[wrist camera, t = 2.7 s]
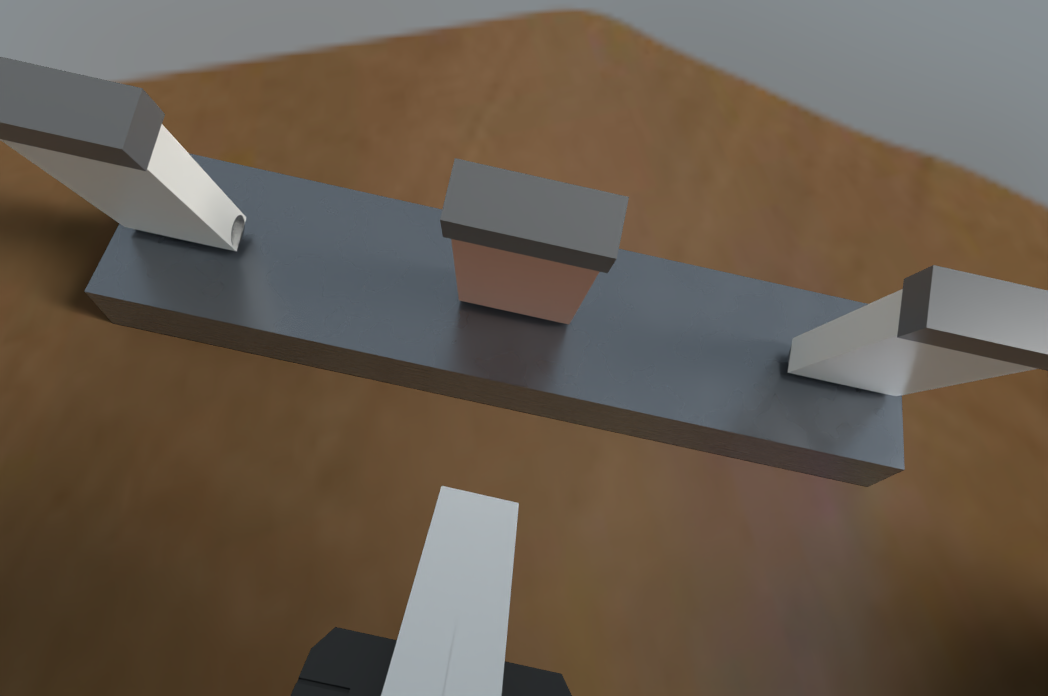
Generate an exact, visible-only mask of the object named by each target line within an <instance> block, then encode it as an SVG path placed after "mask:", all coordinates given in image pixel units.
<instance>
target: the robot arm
mask: <svg viewBox="0 0 1048 696" xmlns="http://www.w3.org/2000/svg"><path fill="white" fill-rule="evenodd" d="M518 506H519V503H516V502H512V501H507V500H503V499H498V498H494V497H489V496H485V495H481V494H476V493H472V492H467V491H463V490H458V489H454V488H449V487H445V486H441V490H440V493H439V497H438V500H437V504H436V507H435V511H434V514H433V517H432V521H431V524H430V528H429V531H428V535H427V538H426V542H425V545H424V549H423V552H422V556H421V559H420V562H419V566H418V569H417V573H416V576H415V580H414V583H413V587H412V590H411V594H410V597H409V601H408V604H407V607H406V611H405V614H404V618H403V621H402V625H401V628H400V632H399V635H398V639H397V640H393V639H388V638H383V637H379V636H374V635H370V634H365V633H360V632H356V631H351V630H346V629H342V628H337V627H335V628H334V629H333V630H332V631H331V632H329V633H328V634H327V635H326V636H325V637H324V638H323V639H322V640H320V641H319V642H318V643H317V644H316V645H315V646H314V647H313V648H311V651H310V653H309V655H308V657H307V660H306V662H305V664H304V666H303V669H302V671H301V673H300V676H299V679H298V682H297V683H296V685H295V687H294V689H293V692H292V694H291V696H572V695H571V693H570V691H569V689H568V687H567V685H566V682H565V680H564V678H563V676H562V674H560V673H555V672H551V671H546V670H541V669H537V668H532V667H528V666H523V665H518V664H514V663H509V662H505V651H506V640H507V629H508V618H509V606H510V595H511V584H512V573H513V562H514V551H515V540H516V529H517V518H518Z"/></svg>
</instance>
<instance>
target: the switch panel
mask: <svg viewBox="0 0 1048 696" xmlns="http://www.w3.org/2000/svg"><path fill="white" fill-rule="evenodd" d="M189 155H190V156H191V157H192V158H193V159H194V160H195V161H196V162H197V163H198V165H199V166H200V167H201V168H202V169H203V170H204V171H205V172H206V173H207V174H208V176H209V177H210V178H211V179H212V180H213V181H214V182H215V183H216V184H217V186H218V187H219V188H220V189H221V190H222V191H223V192H224V193H225V194H226V196H227V197H228V198H229V199H230V200H231V201H232V202H233V203H234V204H235V205H236V207H237V208H238V209H239V210H240V211H241V212H242V213H243V214H244V215H245V217H246V221H245V228H244V234H243V238H242V240H241V242H240V244H239V245H238V249H237V252H236V251H232V250H227V249H223V248H218V247H214V246H209V245H204V244H200V243H195V242H191V241H186V240H182V239H177V238H173V237H168V236H163V235H159V234H154V233H150V232H145V231H141V230H136V229H132V228H127V227H124V226H122V225H121V224H119V226H118V227H117V229H116V231H115V233H114V235H113V237H112V239H111V241H110V243H109V245H108V247H107V249H106V251H105V253H104V255H103V256H102V258H101V260H100V262H99V264H98V266H97V268H96V270H95V272H94V274H93V276H92V278H91V280H90V282H89V284H88V285H87V287H86V289H85V291H84V292H85V293H86V294H87V295H88V296H89V297H90V298H91V300H92V301H93V302H94V303H95V304H96V305H97V306H98V307H99V309H100V310H101V311H102V312H103V313H104V314H105V315H106V316H107V318H108V319H109V320H110V321H111V322H112V323H114V324H119V325H124V326H128V327H133V328H137V329H142V330H147V331H151V332H156V333H161V334H165V335H170V336H174V337H179V338H184V339H188V340H193V341H197V342H202V343H207V344H211V345H216V346H221V347H225V348H230V349H234V350H239V351H244V352H248V353H253V354H257V355H262V356H267V357H271V358H276V359H280V360H285V361H290V362H294V363H299V364H304V365H308V366H313V367H317V368H322V369H327V370H331V371H336V372H340V373H345V374H350V375H354V376H359V377H364V378H368V379H373V380H377V381H382V382H387V383H391V384H396V385H400V386H405V387H410V388H414V389H419V390H423V391H428V392H433V393H437V394H442V395H447V396H451V397H456V398H460V399H465V400H470V401H474V402H479V403H483V404H488V405H493V406H497V407H502V408H507V409H511V410H516V411H520V412H525V413H530V414H534V415H539V416H543V417H548V418H553V419H557V420H562V421H567V422H571V423H576V424H580V425H585V426H590V427H594V428H599V429H603V430H608V431H613V432H617V433H622V434H626V435H631V436H636V437H640V438H645V439H650V440H654V441H659V442H663V443H668V444H673V445H677V446H682V447H686V448H691V449H696V450H700V451H705V452H710V453H714V454H719V455H723V456H728V457H733V458H737V459H742V460H746V461H751V462H756V463H760V464H765V465H770V466H774V467H779V468H783V469H788V470H793V471H797V472H802V473H806V474H811V475H816V476H820V477H825V478H829V479H834V480H839V481H843V482H848V483H853V484H857V485H862V486H866V487H868V486H871V485H873V484H875V483H877V482H879V481H881V480H884V479H886V478H888V477H890V476H892V475H894V474H897V473H899V472H901V471H903V470H904V445H903V419H902V395H900V396H892V395H888V394H883V393H878V392H874V391H869V390H865V389H860V388H856V387H851V386H847V385H842V384H837V383H833V382H828V381H824V380H819V379H815V378H810V377H805V376H801V375H796V374H792V373H788V355H789V350H790V347H791V345H792V339H793V338H794V337H796V336H799V335H801V334H803V333H805V332H808V331H810V330H812V329H814V328H817V327H819V326H821V325H823V324H825V323H828V322H830V321H832V320H834V319H837V318H839V317H841V316H843V315H846V314H848V313H850V312H852V311H855V310H857V309H859V308H861V307H863V306H866V305H868V304H866V303H861V302H857V301H852V300H848V299H843V298H838V297H834V296H829V295H825V294H820V293H816V292H811V291H807V290H802V289H798V288H793V287H789V286H784V285H780V284H775V283H771V282H766V281H762V280H757V279H753V278H748V277H744V276H739V275H735V274H730V273H726V272H721V271H717V270H712V269H708V268H703V267H699V266H694V265H690V264H685V263H681V262H676V261H672V260H667V259H663V258H658V257H654V256H649V255H645V254H640V253H635V252H631V251H626V250H622V249H619V250H618V255H617V259H616V261H615V262H614V264H613V266H612V267H611V269H610V270H609V272H608V273H604V272H599V274H598V275H597V277H596V279H595V281H594V282H593V284H592V286H591V287H590V289H589V291H588V293H587V294H586V296H585V298H584V300H583V301H582V303H581V305H580V307H579V308H578V310H577V312H576V314H575V315H574V317H573V319H572V320H571V322H570V324H564V323H560V322H555V321H551V320H546V319H541V318H537V317H532V316H528V315H523V314H519V313H514V312H510V311H505V310H500V309H496V308H491V307H487V306H482V305H478V304H473V303H468V302H464V301H459V297H458V289H457V281H456V274H455V266H454V258H453V250H452V242H451V239H450V238H445V237H443V235H442V229H441V223H440V218H441V214H442V209H437V208H433V207H428V206H423V205H419V204H414V203H410V202H405V201H401V200H396V199H392V198H387V197H383V196H378V195H374V194H369V193H365V192H360V191H356V190H351V189H347V188H342V187H338V186H333V185H329V184H324V183H320V182H315V181H311V180H306V179H302V178H297V177H293V176H288V175H284V174H279V173H275V172H270V171H266V170H261V169H257V168H252V167H248V166H243V165H239V164H234V163H230V162H225V161H220V160H216V159H211V158H207V157H202V156H198V155H193V154H189Z"/></svg>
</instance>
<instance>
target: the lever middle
mask: <svg viewBox="0 0 1048 696" xmlns="http://www.w3.org/2000/svg"><path fill="white" fill-rule="evenodd" d="M628 198H629V197H626V196H622V195H617V194H613V193H608V192H604V191H599V190H595V189H590V188H586V187H581V186H577V185H572V184H568V183H563V182H559V181H554V180H550V179H545V178H541V177H536V176H532V175H528V174H523V173H519V172H514V171H510V170H505V169H501V168H496V167H492V166H487V165H483V164H478V163H474V162H469V161H465V160H460V159H456V158H455V161H454V165H453V169H452V173H451V177H450V181H449V185H448V189H447V193H446V197H445V201H444V206H443V210H442V214H441V218H440V223H441V229H442V235H443V237H445V238H450V239H451V242H452V250H453V258H454V266H455V274H456V281H457V289H458V297H459V301H464V302H468V303H473V304H478V305H482V306H487V307H491V308H496V309H500V310H505V311H510V312H514V313H519V314H523V315H528V316H532V317H537V318H541V319H546V320H551V321H555V322H560V323H564V324H570V322H571V320H572V319H573V317H574V315H575V314H576V312H577V310H578V308H579V307H580V305H581V303H582V301H583V300H584V298H585V296H586V294H587V293H588V291H589V289H590V287H591V286H592V284H593V282H594V281H595V279H596V277H597V275H598V274H599V272H604V273H608V272H609V270H610V269H611V267H612V266H613V264H614V262H615V261H616V259H617V255H618V250H619V244H620V239H621V234H622V229H623V224H624V219H625V214H626V209H627V204H628Z"/></svg>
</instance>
